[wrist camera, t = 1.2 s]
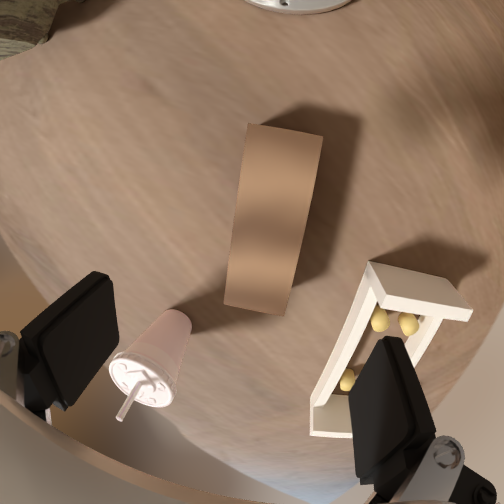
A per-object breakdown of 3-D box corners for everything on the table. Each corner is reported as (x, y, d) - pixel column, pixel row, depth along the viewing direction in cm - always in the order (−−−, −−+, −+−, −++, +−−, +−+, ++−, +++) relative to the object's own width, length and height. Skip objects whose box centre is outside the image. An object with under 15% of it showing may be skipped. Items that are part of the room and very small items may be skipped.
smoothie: (211, 315, 29) (162, 425, 16) (194, 353, 31) (150, 451, 18) (156, 288, 28) (82, 381, 15) (146, 329, 31) (86, 416, 18)
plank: (256, 126, 21) (248, 123, 17) (317, 137, 21) (323, 136, 17) (234, 278, 27) (223, 304, 23) (285, 289, 26) (283, 316, 22)
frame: (368, 260, 24) (386, 294, 18) (446, 278, 23) (473, 310, 18) (310, 397, 32) (309, 435, 26) (375, 402, 31) (381, 438, 26)
